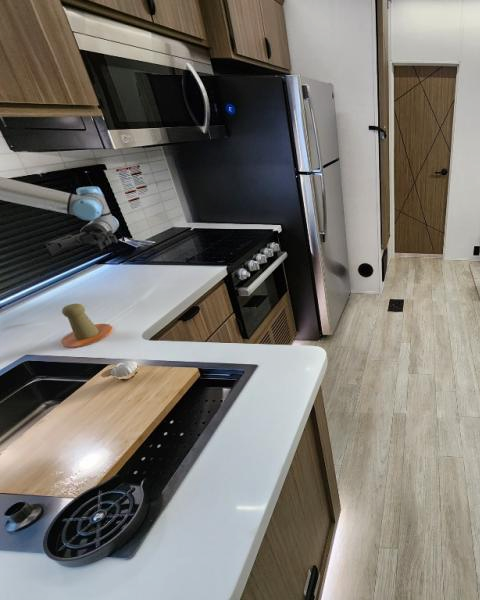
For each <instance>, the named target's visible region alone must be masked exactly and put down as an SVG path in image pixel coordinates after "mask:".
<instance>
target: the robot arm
mask: <svg viewBox="0 0 480 600" xmlns="http://www.w3.org/2000/svg"><path fill="white" fill-rule="evenodd" d="M75 192H76V194H74V193H70V192H66V191H62V190H58V189H54V188H49V187H45V186H41V185H37V184H34V183H33V184H32V183H28V182H24V181H20V180H17V179H16V180H15V179H11V178H7V177H2V176H0V201H4V202H9V203H14V204H18V205H24V206H29V207H34V208H39V209H43V210H47V211H51V212H58V213H63V214H67V215H72V216H76V217H77V218H78V219H81V220H83V221H89V223H87V224H85V225H84V226H83V227H82V228H80V231H79V233H77V234H74V235H72V234H67V235H65V236H62V237H60V238H57V239H53V240H50V241H47V242H45V245H46V248H45V250H46V253H47V254H48V257H53V256H55V255H56V254H57V253H59V252H60V251H61V250H62V249H65V248H68V247H73V246H76V245H78V246H80V245H84V244H92V245H95V246H96V248H97V250H98V251H100V252H101V251H102V250H103V249H105V248H106V247H107V246H109V245H111V244H112V243H114V244H117V243H119V241H118V238H117V237H116V235H115V234H114V233H115V232H117V231H118V228H119V226H120V223H119V220H118V219H117V218H116V217H115V216H113V215H112V213H111V210H110V208H109V206H108V203H107V201H106V199H105V198H106V197H105V195H104V193H103V192H102V190H101V188H100V187H99V186H93V185H92V186H82V187H78V188H76V191H75Z"/></svg>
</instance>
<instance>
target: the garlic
mask: <svg viewBox="0 0 480 600" xmlns="http://www.w3.org/2000/svg"><path fill="white" fill-rule="evenodd" d="M137 365H138V366H139V363H137V362H136V361H134V360H133V361H132V360H125V361H121V362H118V363H117V364H116V365H115V366H114V368H113V369H111V371H110V376H111V377H112V376H116V377H123V376H127V375H129V374H131V373H132V372H133V371H134V370H135V369H136V368H137Z"/></svg>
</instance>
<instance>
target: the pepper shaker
mask: <svg viewBox="0 0 480 600" xmlns="http://www.w3.org/2000/svg"><path fill="white" fill-rule="evenodd" d="M61 313H62V315H63V316H64V317H66V318H67V319H68V323H69V325H70V328H71V331H72V332H73V333H74V336H75V338H76V339H77V340H83V339H87V338H90V337H93V336H94V335H96V334H97V333H98V332H99V330H98V329H97V328H96V326H95V324H94V322H93V321H92V320H91V319H90V317H89V316H88V315H87V314H86V308H85V306H84V305H83V304H81V303H71V304H67V305H65V306H64V307H63V308H62V310H61Z"/></svg>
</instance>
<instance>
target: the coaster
mask: <svg viewBox="0 0 480 600" xmlns="http://www.w3.org/2000/svg"><path fill="white" fill-rule="evenodd" d="M94 325H95V326H96V328H97V329H98V330H99V332H98V333H97V334H96V335H94V336H93V337H90V338H87V339H83V340H77V339H76V338H75V336H74V333H73V331H72V332H70V333H68V334H67V335H65V336H64V337H63V338H62V339H61V341H60V343H61V345H62V346H63V347H64V348H68V349H74V348H75V349H76V348H81V347H85V345H86V346H88V345H92V344H94V342H95V343H97V342H99V341H102V340H103V339H105V338H107V337H108V336H110V334H111V333H112V332H113V328H114V327H113V326H112V325H111V324H109V323H96V324H94ZM91 343H92V344H91Z"/></svg>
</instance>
